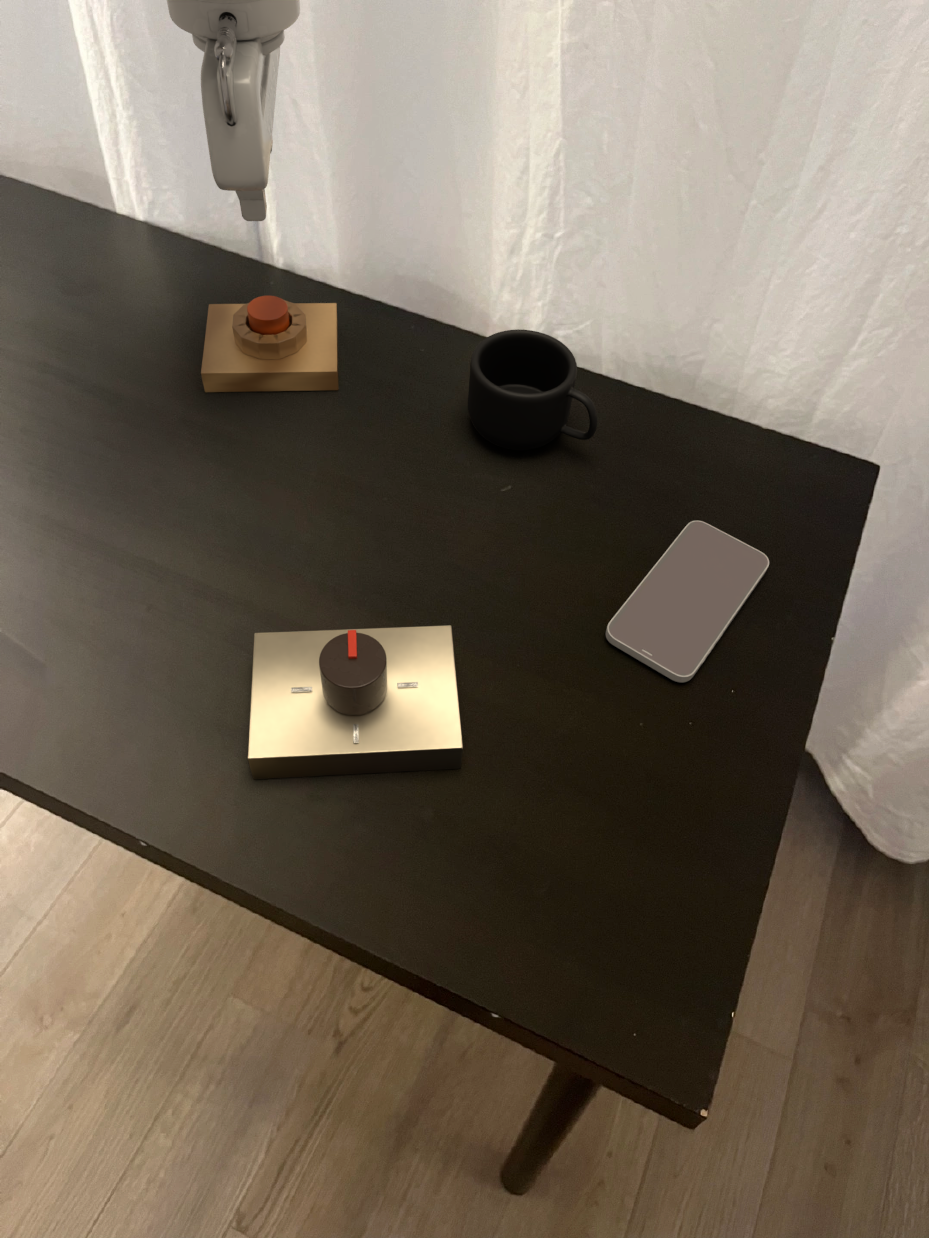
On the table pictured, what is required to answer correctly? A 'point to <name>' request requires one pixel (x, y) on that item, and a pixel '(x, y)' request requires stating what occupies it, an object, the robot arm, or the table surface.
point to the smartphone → (687, 600)
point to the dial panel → (354, 744)
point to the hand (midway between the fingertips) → (258, 182)
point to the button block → (271, 351)
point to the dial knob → (353, 673)
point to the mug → (524, 390)
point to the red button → (268, 315)
